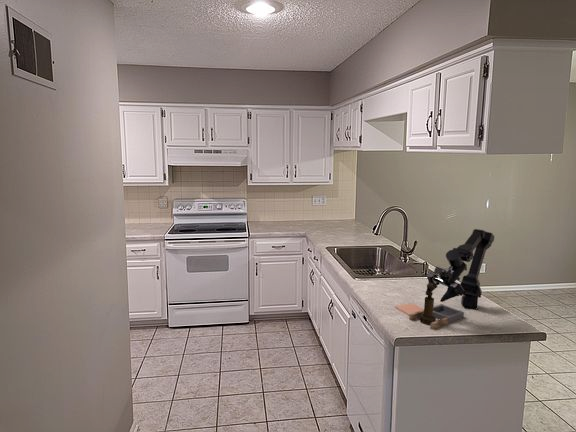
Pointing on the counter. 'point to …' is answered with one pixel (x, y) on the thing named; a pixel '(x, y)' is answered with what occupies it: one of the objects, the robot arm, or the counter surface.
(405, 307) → the terracotta tile
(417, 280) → the counter surface
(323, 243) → the counter surface
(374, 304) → the counter surface
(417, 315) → the walnut channel
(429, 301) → the wooden pepper mill
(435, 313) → the charcoal box
